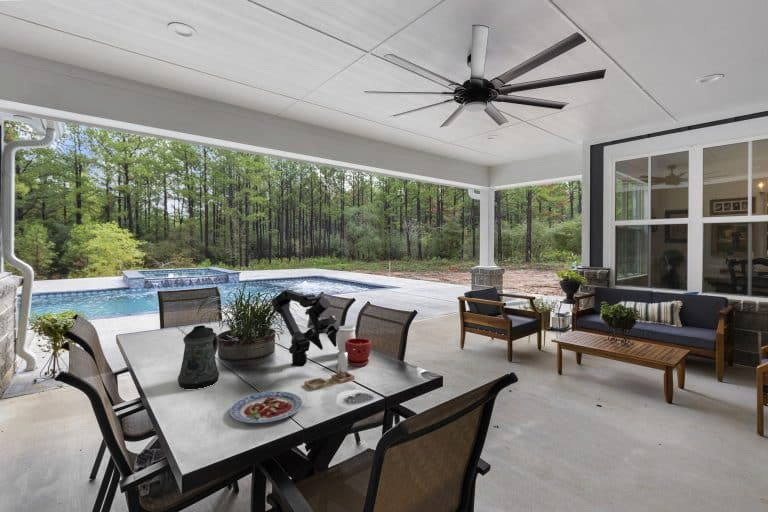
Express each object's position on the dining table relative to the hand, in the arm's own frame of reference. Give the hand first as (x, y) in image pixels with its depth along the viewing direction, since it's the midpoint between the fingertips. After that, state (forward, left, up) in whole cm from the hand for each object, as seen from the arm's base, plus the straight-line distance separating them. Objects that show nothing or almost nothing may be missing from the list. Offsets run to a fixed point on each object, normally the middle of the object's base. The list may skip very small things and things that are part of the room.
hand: (329, 347), depth 176 cm
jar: (+2, +32, -13) cm, 35 cm away
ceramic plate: (-15, -38, -13) cm, 43 cm away
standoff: (+8, -6, -12) cm, 16 cm away
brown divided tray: (+3, -11, -13) cm, 17 cm away
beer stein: (-56, -13, -13) cm, 59 cm away
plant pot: (+11, +17, -13) cm, 24 cm away
